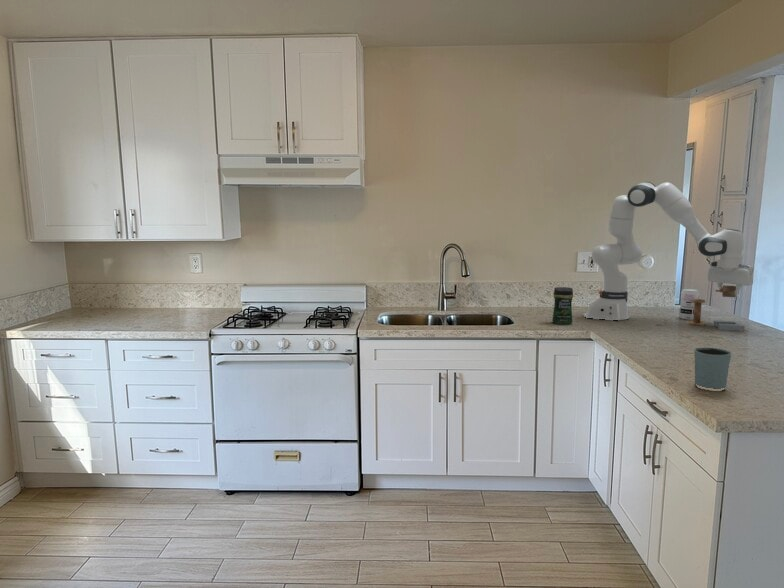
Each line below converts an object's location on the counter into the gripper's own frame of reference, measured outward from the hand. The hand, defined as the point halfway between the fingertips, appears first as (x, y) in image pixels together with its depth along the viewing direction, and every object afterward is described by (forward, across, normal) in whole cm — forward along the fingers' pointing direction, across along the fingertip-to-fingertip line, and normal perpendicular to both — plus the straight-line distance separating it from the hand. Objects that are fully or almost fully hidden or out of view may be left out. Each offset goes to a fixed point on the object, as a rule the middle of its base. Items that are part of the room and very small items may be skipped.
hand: (728, 293), depth 252 cm
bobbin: (+17, +13, +4) cm, 21 cm away
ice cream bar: (+2, +1, +1) cm, 2 cm away
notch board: (+17, 0, -1) cm, 17 cm away
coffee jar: (+17, +44, +60) cm, 76 cm away
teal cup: (+18, -56, +84) cm, 102 cm away
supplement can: (+17, +24, -4) cm, 30 cm away
